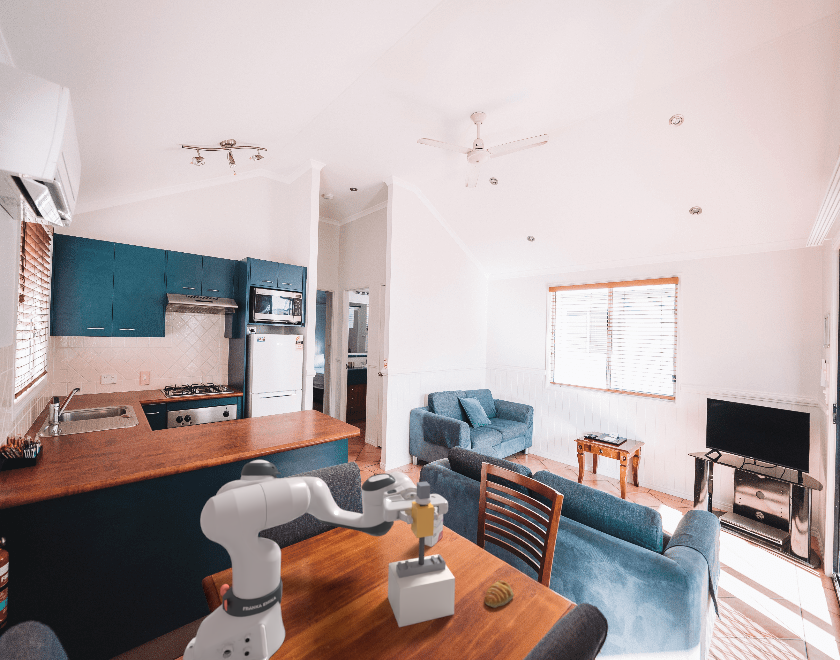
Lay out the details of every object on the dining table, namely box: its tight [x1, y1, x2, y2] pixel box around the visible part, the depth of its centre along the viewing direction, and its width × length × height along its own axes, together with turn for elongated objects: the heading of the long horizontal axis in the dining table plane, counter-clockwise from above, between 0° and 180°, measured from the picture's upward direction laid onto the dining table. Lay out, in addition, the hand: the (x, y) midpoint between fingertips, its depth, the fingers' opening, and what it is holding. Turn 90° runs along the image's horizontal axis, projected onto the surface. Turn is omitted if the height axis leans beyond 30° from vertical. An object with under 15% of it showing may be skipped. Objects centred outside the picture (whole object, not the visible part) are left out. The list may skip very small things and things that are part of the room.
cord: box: [415, 481, 431, 565], centre depth 108 cm, size 4×4×25 cm
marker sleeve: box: [410, 501, 434, 539], centre depth 108 cm, size 5×5×8 cm
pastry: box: [484, 579, 515, 609], centre depth 112 cm, size 9×7×4 cm
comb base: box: [387, 553, 456, 628], centre depth 108 cm, size 16×12×13 cm
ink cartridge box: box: [424, 514, 444, 547], centre depth 143 cm, size 9×5×15 cm, turn 147°
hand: (423, 519), depth 108 cm, fingers open, 6 cm apart
